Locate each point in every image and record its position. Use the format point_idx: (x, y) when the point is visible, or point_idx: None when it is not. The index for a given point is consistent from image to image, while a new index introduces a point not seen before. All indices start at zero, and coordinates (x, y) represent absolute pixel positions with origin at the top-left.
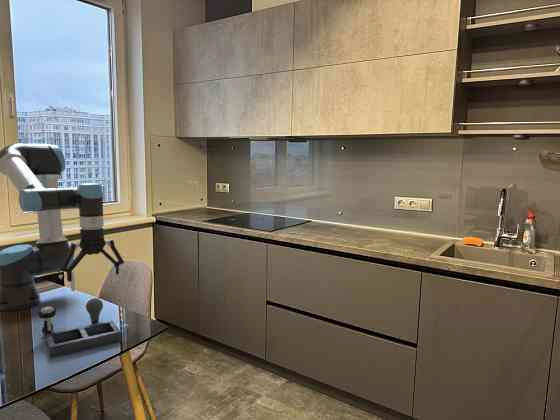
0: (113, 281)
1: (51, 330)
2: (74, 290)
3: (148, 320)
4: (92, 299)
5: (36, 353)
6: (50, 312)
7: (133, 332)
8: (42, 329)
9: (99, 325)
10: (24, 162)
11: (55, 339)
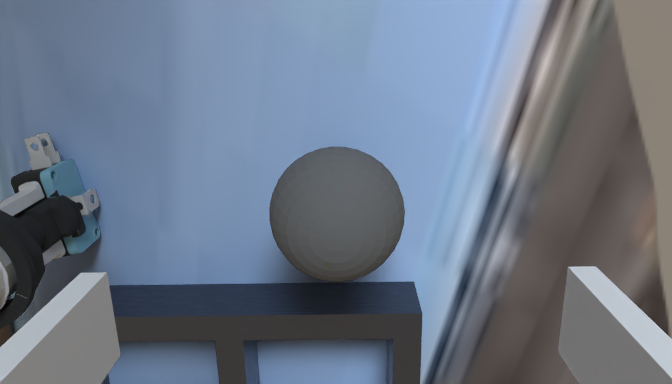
0: (574, 345)
1: (69, 243)
2: (113, 358)
3: (643, 259)
4: (318, 245)
5: None
6: None
7: (499, 368)
8: (16, 189)
9: (336, 334)
10: None
11: None
